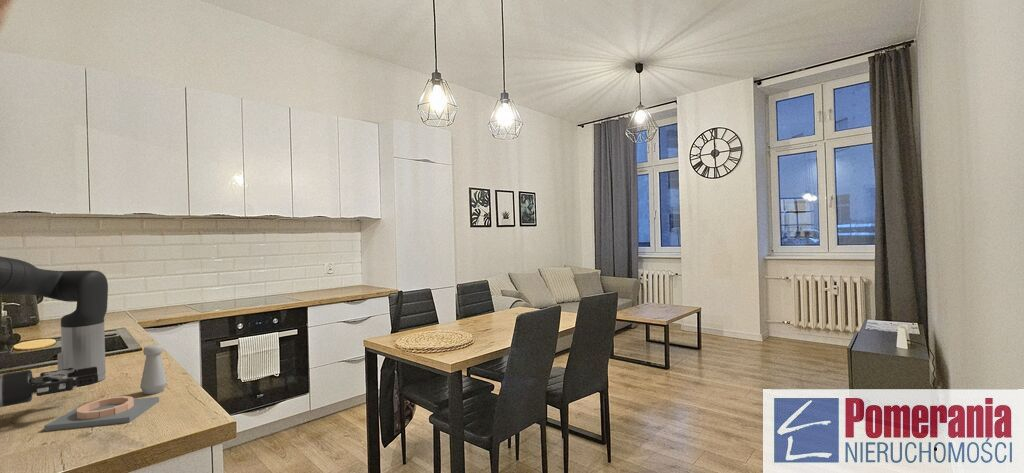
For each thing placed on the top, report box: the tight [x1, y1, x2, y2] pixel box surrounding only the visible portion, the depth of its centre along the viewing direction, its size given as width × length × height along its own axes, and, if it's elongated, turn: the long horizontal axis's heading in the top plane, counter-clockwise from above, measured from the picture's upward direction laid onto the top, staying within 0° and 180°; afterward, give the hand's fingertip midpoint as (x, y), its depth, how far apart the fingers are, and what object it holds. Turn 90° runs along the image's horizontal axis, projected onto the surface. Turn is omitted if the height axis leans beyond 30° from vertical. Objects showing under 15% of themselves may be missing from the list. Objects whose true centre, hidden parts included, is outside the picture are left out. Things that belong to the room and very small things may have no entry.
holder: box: [43, 395, 160, 432], centre depth 106 cm, size 16×13×3 cm
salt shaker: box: [140, 343, 168, 395], centre depth 121 cm, size 6×6×13 cm
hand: (97, 374), depth 113 cm, fingers open, 8 cm apart
